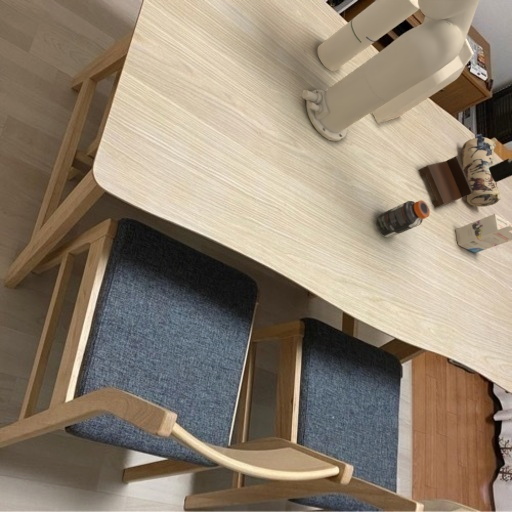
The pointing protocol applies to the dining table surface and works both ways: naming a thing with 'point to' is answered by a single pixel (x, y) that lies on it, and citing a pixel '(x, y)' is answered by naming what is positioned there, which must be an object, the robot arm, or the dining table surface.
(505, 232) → the ink box
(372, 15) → the cylindrical container
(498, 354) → the dining table surface
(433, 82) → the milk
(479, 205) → the pencil case
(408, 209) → the pill bottle
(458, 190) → the shelf
